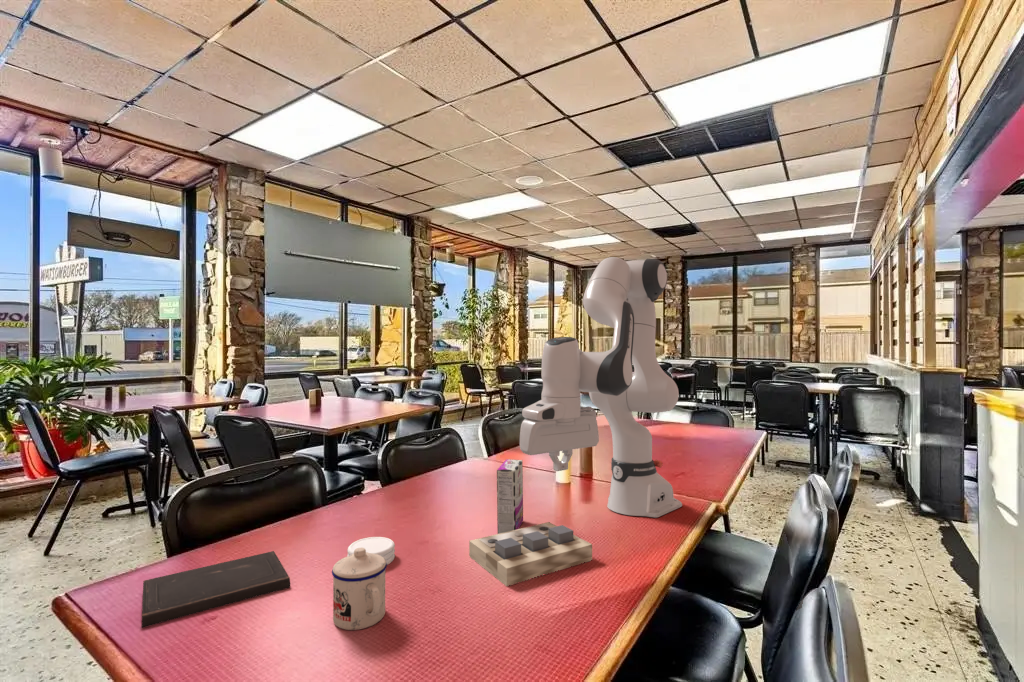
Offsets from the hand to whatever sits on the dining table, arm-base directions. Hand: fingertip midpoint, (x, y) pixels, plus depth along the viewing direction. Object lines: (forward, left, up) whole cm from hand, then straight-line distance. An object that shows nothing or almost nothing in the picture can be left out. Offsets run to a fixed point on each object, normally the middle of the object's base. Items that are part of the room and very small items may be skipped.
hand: (560, 470), depth 110 cm
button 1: (+14, 0, -16) cm, 22 cm away
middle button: (+7, 0, -16) cm, 18 cm away
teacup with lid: (+45, +3, -19) cm, 49 cm away
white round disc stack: (+37, -20, -20) cm, 46 cm away
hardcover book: (+66, -23, -20) cm, 73 cm away
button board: (+7, -2, -19) cm, 20 cm away
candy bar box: (+1, -20, -19) cm, 28 cm away
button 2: (0, 0, -16) cm, 16 cm away
